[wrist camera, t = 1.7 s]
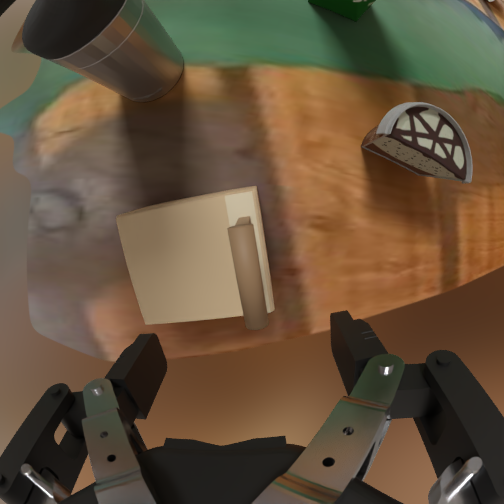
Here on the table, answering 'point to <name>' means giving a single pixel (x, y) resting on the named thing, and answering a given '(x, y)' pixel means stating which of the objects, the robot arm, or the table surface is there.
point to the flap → (198, 261)
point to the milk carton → (345, 7)
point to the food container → (422, 142)
